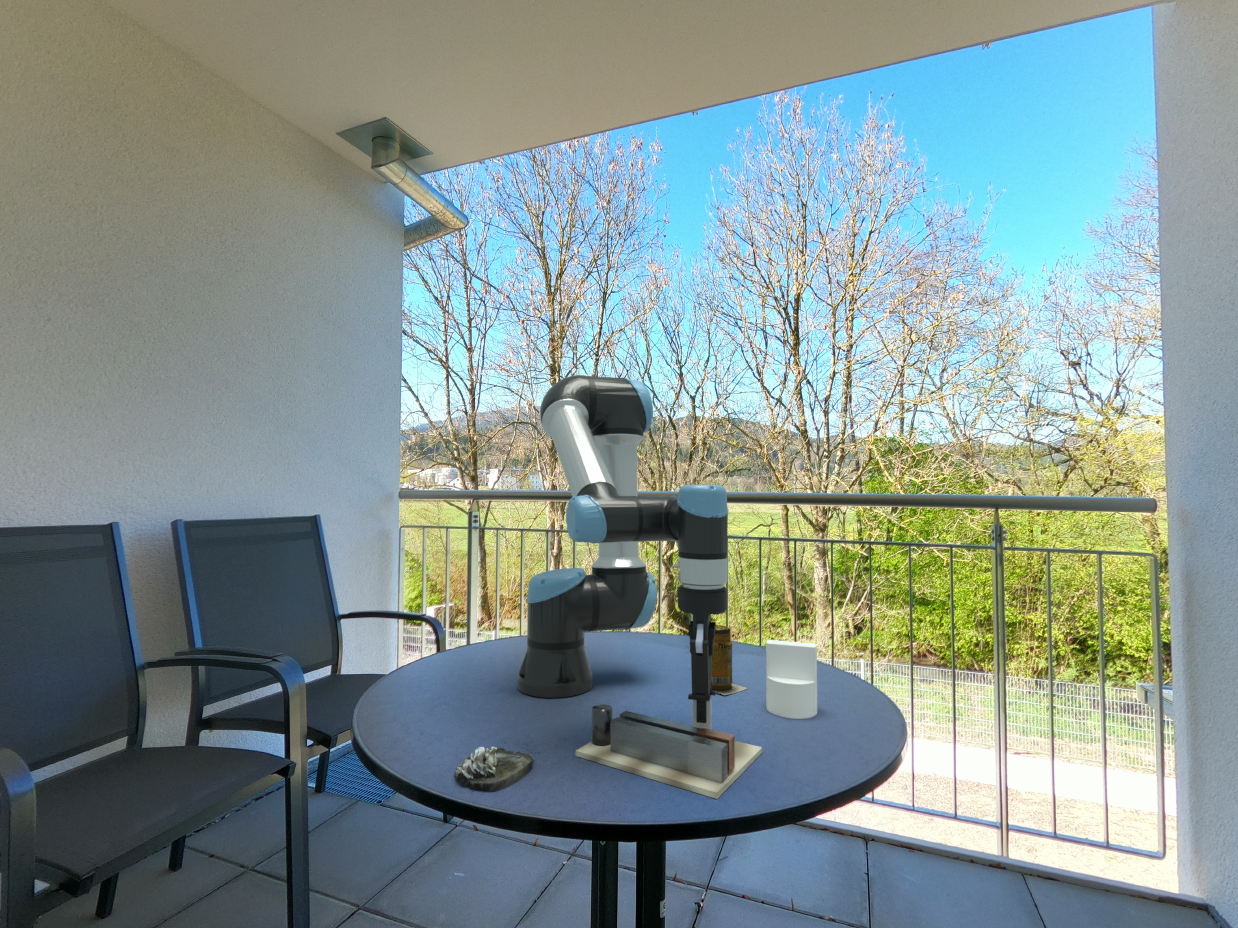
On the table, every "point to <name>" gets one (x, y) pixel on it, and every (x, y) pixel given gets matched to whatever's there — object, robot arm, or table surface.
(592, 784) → the table surface
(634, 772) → the board
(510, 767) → the log
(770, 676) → the base with upright slab
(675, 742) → the tongs fixed
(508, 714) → the table surface
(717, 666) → the condiment
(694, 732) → the tong arm
